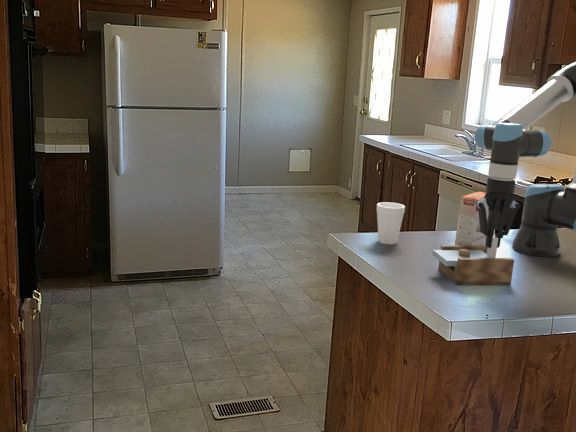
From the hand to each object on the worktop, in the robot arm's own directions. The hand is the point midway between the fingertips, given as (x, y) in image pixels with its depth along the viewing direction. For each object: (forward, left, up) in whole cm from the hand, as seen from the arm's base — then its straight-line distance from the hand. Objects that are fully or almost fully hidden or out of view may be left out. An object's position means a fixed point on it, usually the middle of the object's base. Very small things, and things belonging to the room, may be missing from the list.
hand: (490, 258), depth 175 cm
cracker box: (-2, -18, -6) cm, 19 cm away
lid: (+8, 0, -1) cm, 8 cm away
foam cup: (+20, -36, -6) cm, 41 cm away
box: (+5, 0, -6) cm, 7 cm away
